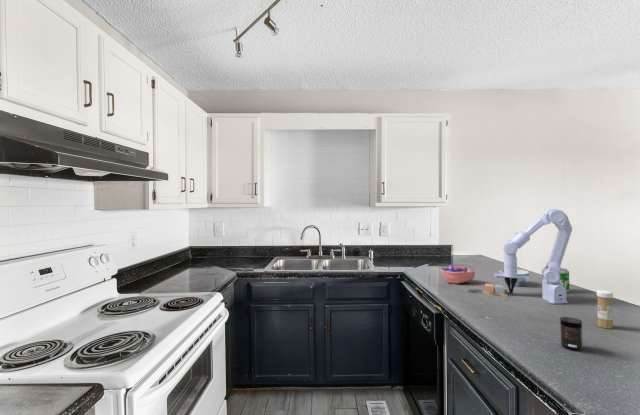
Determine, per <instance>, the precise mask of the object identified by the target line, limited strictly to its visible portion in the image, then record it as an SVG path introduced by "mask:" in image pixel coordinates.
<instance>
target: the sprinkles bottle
mask: <svg viewBox="0 0 640 415" xmlns="http://www.w3.org/2000/svg"><path fill="white" fill-rule="evenodd" d="M613 293H614V292H612V291H610V290H609V291H608V290H604V289H603V290H602V289H601V290H600V289H598V290H596V296H597V297H596V298H597V302H596V303H597V309H596V311H597V326H598V328H599V327H600V328H602V329H607V330H609V329H614V323H613V322H614V320H613V319H614V314H613V313H614V306H613V298H614V296H613V295H614V294H613Z"/></svg>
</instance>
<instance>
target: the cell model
mask: <svg viewBox="0 0 640 415" xmlns="http://www.w3.org/2000/svg"><path fill="white" fill-rule="evenodd" d="M439 271H440V273H441V275H442V277H443V279H444V280H445V281H446V282H447V283H450V284H454V285H455V284H467V283H470V282H471V281H473V279H475V276H476V270H475V269H472V268H467V266H466V267H462V266H460V267H459V266H454V265H453V264H449V265H448V266H446V267H441V268H439Z"/></svg>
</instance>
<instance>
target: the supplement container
mask: <svg viewBox="0 0 640 415" xmlns="http://www.w3.org/2000/svg"><path fill="white" fill-rule="evenodd" d="M559 331H560V332H559V334H560V336H559V338H560V341H559V342H560V343H559V344H560V346H562V347H563V348H564V349H566V350H570V351H573V352H574V351H575V352H577V351H578V352H579V351H580V352H581V351H582V350H583V349H584V348H583V346H584V343H583V341H584V340H583V320H581V319H579V318H575V317H570V316H561V317H559Z"/></svg>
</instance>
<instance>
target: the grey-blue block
mask: <svg viewBox="0 0 640 415" xmlns="http://www.w3.org/2000/svg"><path fill="white" fill-rule="evenodd" d="M494 288H495V291H494V292H495V293H505V292H504V289H505V285H504V284H494Z"/></svg>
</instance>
